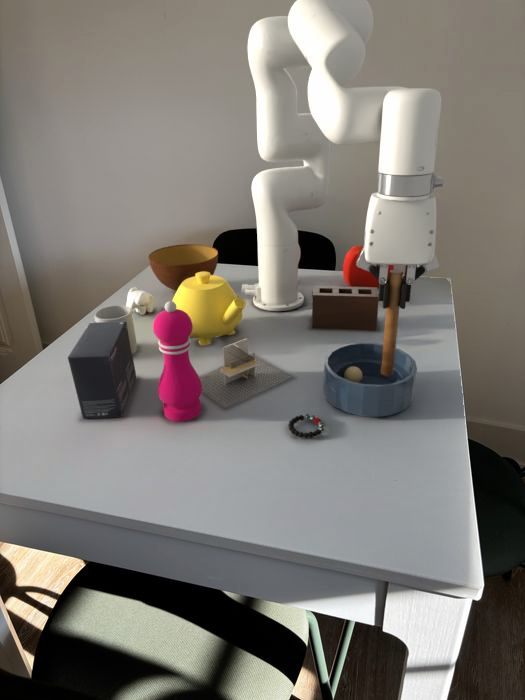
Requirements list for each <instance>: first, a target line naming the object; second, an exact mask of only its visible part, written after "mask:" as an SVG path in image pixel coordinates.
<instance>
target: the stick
mask: <svg viewBox="0 0 525 700" xmlns="http://www.w3.org/2000/svg"><path fill="white" fill-rule="evenodd" d="M403 276H404V271H403V270H402V269H394V270H390V272H389V284H390V290H389V301H388V308H385V319H384V320H385V321H384V332H383V343H382V344H383V354H382V365H381V374H382V375H384V376H391V375H393V369H394V358H395V348H397V338H398V337H397V336H398V326H399V318H400V317H399V316H400V296H401V286H402V278H403Z"/></svg>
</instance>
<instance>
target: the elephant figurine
mask: <svg viewBox="0 0 525 700" xmlns="http://www.w3.org/2000/svg"><path fill="white" fill-rule="evenodd" d="M154 296H156V293H154V295H152V294H151V293H148V292H147V291H145V290H143V289H138V288H137V287H136V286H133V287H131V288H130V290H129V291H128V293H127V298H126V304H125V306H128V307H129V308H131V311H132V314H133V313H134V312H136V313H139V314H140V315H142V316H143V315H145V314H146V313H153V312H154V308H155V297H154Z"/></svg>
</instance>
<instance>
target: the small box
mask: <svg viewBox="0 0 525 700" xmlns="http://www.w3.org/2000/svg"><path fill="white" fill-rule="evenodd" d="M86 327H87V328H86ZM86 327H85V330H83V333H82V334H81V335H80V337H79V339H78V341H77V342H76V343H75V345H74V347H73V348H72V350H71V351H70V353H69V355H68V356H67V360H68V361H67V362H68V364H69V368H70V372H71V377H72V381H73V384H74V388H75V392H76V396H77V400H78V404H79V408H80V412H81V416H82V419H104V418H106V419H107V418H123V415H124V412H125V410H126V407H127V404H128V401H129V400H130V397H131V394H132V390H133V388H134V385H135V383H136V379H137V373H136V367H135V362H134V357H133V355H132V352H131V347H130V341H129V335H128V329H127V322H126V321H116V322H95V323H91V322H89V323H88V325H87V326H86Z"/></svg>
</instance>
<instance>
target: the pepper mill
mask: <svg viewBox="0 0 525 700" xmlns="http://www.w3.org/2000/svg"><path fill="white" fill-rule="evenodd" d="M152 329H153V330H152V331H153V333H154V336H155V337H156V338H157V339H158V349H159V351H160V352H161V353H162V355H163V369H162V372H161V374H160V376H159V380H158V385H157V395H158V398H159V399H160V400H161V401H162V402H163V404H162V408H163V414H164V417H166V419H167V420H169V421H172V422H176V423H177V422H178V423H179V422H180V423H181V422H183V423H184V422H188V421H191V420H194V419H196V418H197V417H198V416H200V414H201V412H202V403H201V398H200V397H201V396H202V393H203V391H202V384H201V380H200V378H201V377H200V376H199V374H198V372H197V371H196V369H195V368H194V366H193V365H192V363H191V360H190V353H189V351H190V349H191V347H192V343H191V341H192V340H191V337H189V335H190V334H191V332H192V321H191V318H190V317H189V315H188V314H187V313H186V312H184V311H182V310H179V309H176V304H175V303H174V302H173V300H168V301H167V302H166V303H165V304H164V310H162V311H160V312H159V313H158V314H157V315H156V316H155V318H154V320H153V323H152Z"/></svg>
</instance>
